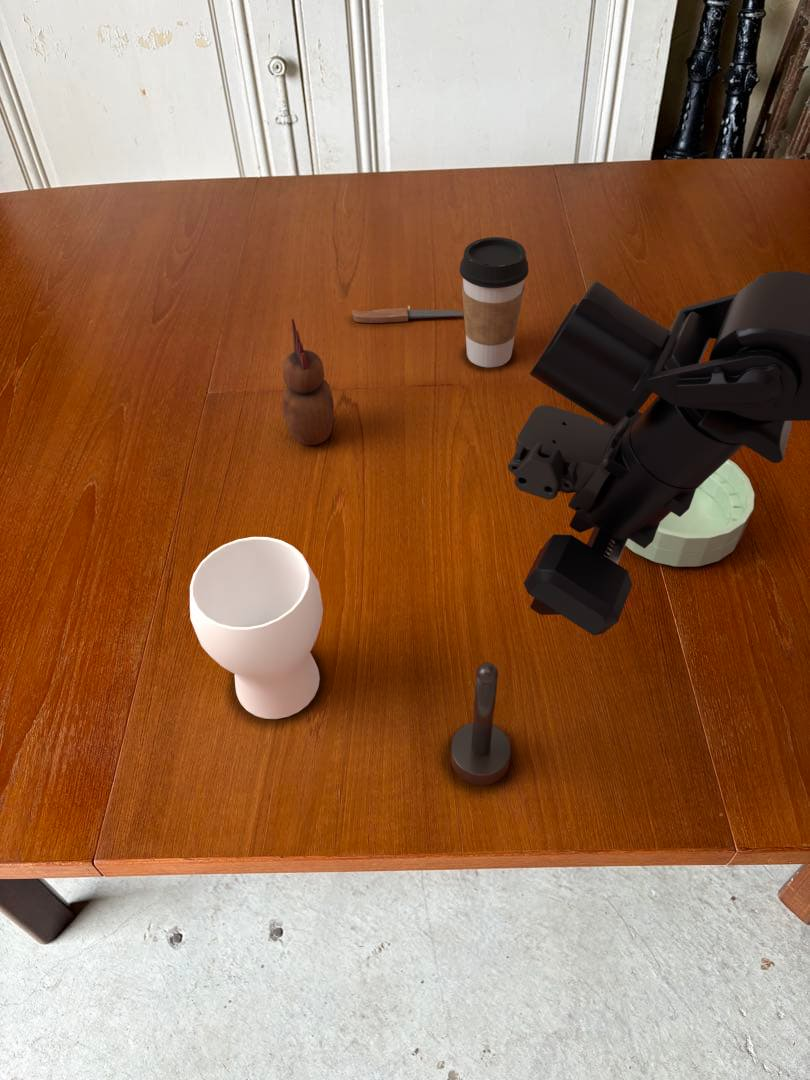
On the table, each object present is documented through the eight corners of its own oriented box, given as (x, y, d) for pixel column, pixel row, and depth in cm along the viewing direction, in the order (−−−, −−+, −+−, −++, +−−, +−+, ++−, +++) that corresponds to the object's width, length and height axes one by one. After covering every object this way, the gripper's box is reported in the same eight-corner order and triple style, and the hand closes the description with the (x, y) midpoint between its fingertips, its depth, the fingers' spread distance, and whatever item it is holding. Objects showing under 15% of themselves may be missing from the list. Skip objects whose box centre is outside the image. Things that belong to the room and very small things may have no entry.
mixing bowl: (767, 550, 84) (783, 517, 80) (644, 585, 82) (654, 552, 78) (695, 462, 93) (706, 428, 90) (582, 491, 91) (588, 457, 87)
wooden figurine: (292, 416, 101) (274, 310, 90) (338, 416, 101) (326, 310, 89) (285, 453, 96) (265, 346, 85) (333, 453, 96) (320, 346, 85)
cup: (336, 728, 72) (317, 630, 61) (216, 739, 72) (175, 641, 60) (333, 630, 79) (316, 526, 68) (224, 640, 79) (189, 536, 67)
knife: (469, 300, 115) (471, 312, 113) (469, 306, 116) (471, 318, 114) (352, 306, 115) (352, 318, 113) (352, 313, 115) (352, 325, 113)
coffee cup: (448, 365, 107) (449, 260, 96) (469, 331, 112) (473, 227, 101) (509, 379, 105) (518, 273, 93) (528, 343, 110) (538, 238, 98)
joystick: (518, 776, 69) (533, 686, 58) (462, 793, 68) (467, 705, 57) (496, 725, 72) (506, 631, 61) (442, 741, 71) (443, 649, 60)
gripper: (605, 308, 57) (513, 440, 70) (508, 476, 46) (419, 597, 59) (739, 393, 57) (622, 510, 70) (674, 582, 46) (549, 680, 59)
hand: (556, 567), depth 64 cm, fingers open, 9 cm apart
